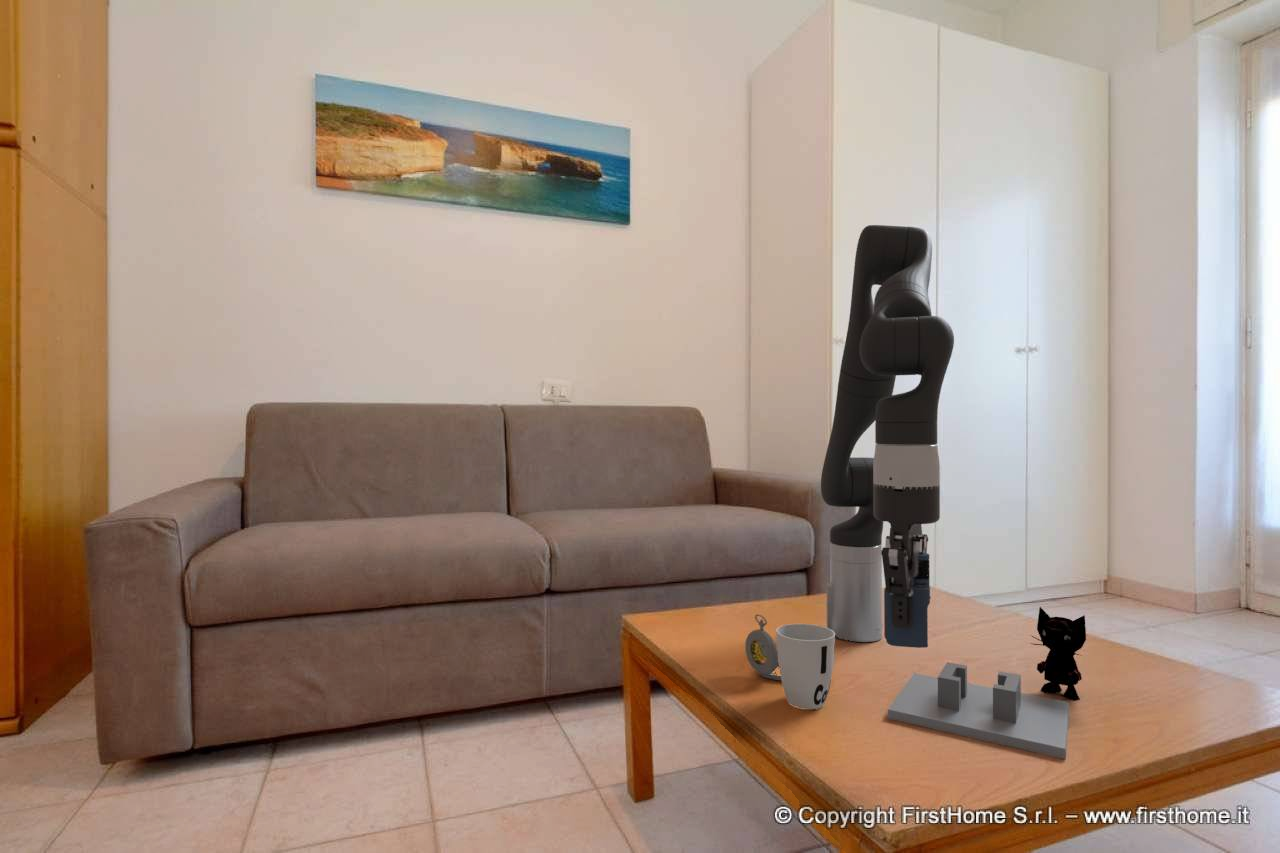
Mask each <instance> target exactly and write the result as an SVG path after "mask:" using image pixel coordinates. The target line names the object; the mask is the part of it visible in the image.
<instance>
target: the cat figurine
mask: <svg viewBox="0 0 1280 853" xmlns="http://www.w3.org/2000/svg"><path fill="white" fill-rule="evenodd" d="M1037 618H1038V619H1037V624H1036V626H1037V627H1036V630H1037V632H1038V635H1039V637H1040V638H1037V637H1035V636H1034V635H1031V637H1032V638H1033V639H1036V640H1037V641H1040V642H1042V643H1032V642H1030V643H1029V644H1031V645H1035V646H1044V647H1046V648H1047V649H1049V652H1048V654H1047V656H1046V658H1045V660H1042V661H1040V662H1038V663H1037V665H1036V670H1037V671H1038V673H1040V674H1041V675H1042V674H1043V673H1044V675H1043V676H1044V677H1043V678H1044V680H1045V681H1048V682H1046V683H1044V684H1043V685H1042V687H1040V692H1042V693H1044V694H1050V695H1051V694H1053V695H1054V694H1055V695H1056V694H1058V693H1061V692H1062V688H1061V685H1062V686H1065V687H1066V686H1067V687H1066V689H1065V690H1064V693H1063V695H1062V697H1064V699H1067V700H1070V701H1080V700H1081V698H1080V696H1079V695H1078V692H1077V690H1076V688H1075V685H1078V683H1079V682H1080V681H1082V680H1083V678H1082V673H1081V671H1079V668H1078V665H1077V661H1076V660H1075V657H1074V656H1075V655H1077V656H1082V657H1083V655H1082V654H1079V653H1076V652H1078V651H1079V650H1081V649H1082V648H1083V647H1084V645H1085V643H1086V641H1087V629H1086V628H1087V627H1086V615H1081V616H1080V617H1078V618H1076V619H1074V620H1072V619H1071V618H1066V617H1062V616H1053V617H1051V616H1050V615H1049V614H1048V613H1047V612H1046V611H1045V610H1044V609H1043V608H1042V607H1041V606H1039V610H1038V617H1037Z"/></svg>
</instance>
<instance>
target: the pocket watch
mask: <svg viewBox="0 0 1280 853" xmlns="http://www.w3.org/2000/svg"><path fill="white" fill-rule="evenodd" d="M757 617H761V618H762V619H760V621H759V620H758V618H757ZM754 619H755V621H756V622H757V623H758V626H759V628H757V629H754V630H752V631H750V632H749V633H748V635H747V637H746V638H745V639H746V640H745V654H746V657H747V660H748V662H749V665H750V666H751V667H752V669H753V670H754V671H755V672H757V673H758V674H759V675H760V676H761V677H764V678H766V679H769V680H774V681H776V680H777V681H782V680H781V676H777V674H776V672H775V673H774V674H776V675H774V674H773V673H772V672H773V671H775V669H776V668H777V667H779V662H778V652H777V644H776V643H775V640H774V639H773V638H772V636H771V634H770V633H768V632H767V631H766V630H765V629H764V627H765V626H766V625H768V624H767V623H768V622H767V619H766V618H765V617H764V616H763V615H761V614H755V616H754ZM762 661H764V662H762ZM778 669H779V668H778ZM771 674H773V675H771Z"/></svg>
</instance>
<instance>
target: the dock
mask: <svg viewBox="0 0 1280 853" xmlns="http://www.w3.org/2000/svg"><path fill="white" fill-rule="evenodd" d="M1021 678H1022V677H1021V674H1018V673H1011V672H1006V671H1005V672H1004V671H1000V670H999V671H998V673H997V683H993V687H992V686H991V687H990V686H986V685H980V684H979V685H978V684H974V683H969V682H968V665H966V664H960V663H954V662H949V661H946V662H945V664H944V666H943V668H942V669H941V671H940V673H939V675H938V676H933V675H928V674H921V673H916V672H913V674H912V675H911V677H910V678H909V680H907V682H906V684H904V686H903V688H902V689H901V690H900V692H899V693H898V695H897V696H896V697H895V699H894V700H893V702H892V703H891V705H890V706H889V707H888V708H887V719H889V720H894V721H898V722H903V723H906V724H907V723H908V724H911V725H915V726H920V727H925V728H928V729H931V730H932V729H934V730H938V731H942V732H945V733H950V734H954V735H959V736H963V737H968V738H971V739H976V740H980V741H985V742H990V743H993V744H998V745H1002V746H1006V745H1007V746H1008V747H1010V748H1011V747H1012V748H1015V749H1019V750H1024V751H1029V752H1033V753H1037V754H1042V755H1047V756H1050V757H1055V758H1058V759H1059V758H1060V759H1063V760H1066V757H1067V756H1066V755H1067V745H1068V744H1067V743H1068V742H1067V741H1068V729H1069V720H1070V719H1069V718H1070V717H1069V716H1070V702H1068V701H1064V700H1059V699H1054V698H1048V697H1045V696H1044V697H1043V696H1037V695H1032V694H1026V693H1022V692H1021V691H1022V686H1021V685H1022V683H1021V682H1022V681H1021V680H1022V679H1021ZM1007 746H1006V747H1007Z"/></svg>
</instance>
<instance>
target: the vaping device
mask: <svg viewBox="0 0 1280 853" xmlns="http://www.w3.org/2000/svg"><path fill="white" fill-rule="evenodd" d="M923 562H924V563H923ZM910 569H911V567H909V570H910ZM897 583H899V584H903V582H902V579H900V578H897ZM913 590H914V595H913V625H912V627H911V628H909V629H906V628H900V627H895V626H894V625H893V623H892V595H890V593H887V592H886V589H885V588H884V591H883V598H884V600H883V605H884V606H883V608H884V609H883V610H884V613H883V614H884V615H883V616H884V618H883V619H884V624H883V626H884V633H883V634H884V638H885V641H886V643H887V644H888V645H890V646H893V647H901V648H902V647H903V648H905V647H906V648H916V649H917V648H919V649H920V648H928V646H929V644H928V642H929V640H928V638H929V637H928V634H929V633H928V631H929V630H928V621H929V620H928V608H929V605H930V602H931V586H930V553H924V547H923V546H922V552H921V553H920V554H919V574H918V576H917V577H915V578H914V588H913Z"/></svg>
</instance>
